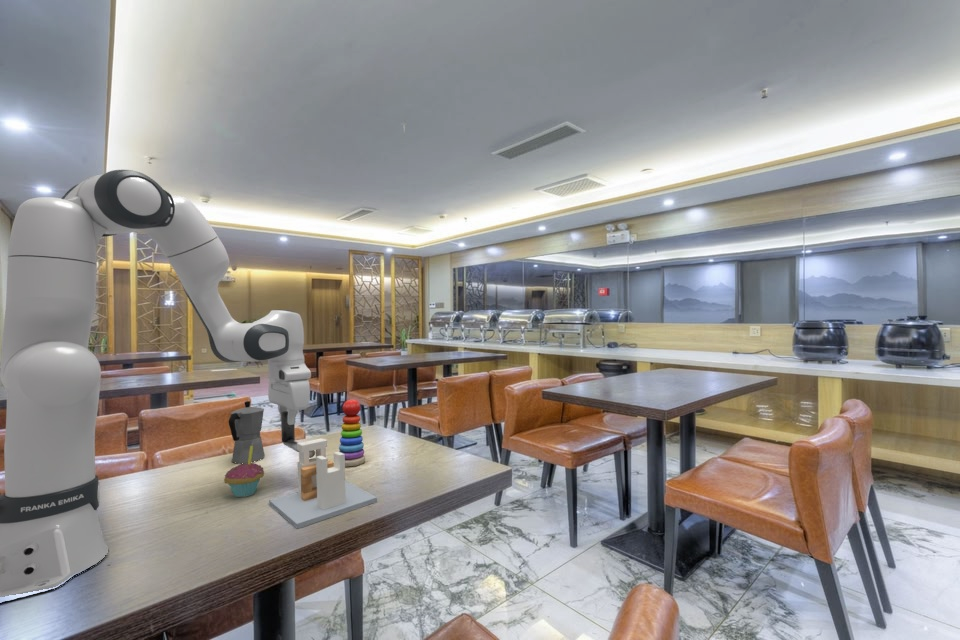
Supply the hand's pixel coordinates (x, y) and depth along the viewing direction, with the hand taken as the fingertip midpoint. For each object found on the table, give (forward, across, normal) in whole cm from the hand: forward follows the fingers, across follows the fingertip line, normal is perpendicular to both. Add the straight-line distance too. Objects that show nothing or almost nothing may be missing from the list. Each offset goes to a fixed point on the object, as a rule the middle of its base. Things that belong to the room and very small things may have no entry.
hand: (287, 422), depth 114 cm
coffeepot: (+15, -28, -3) cm, 32 cm away
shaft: (+6, +7, 0) cm, 9 cm away
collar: (+14, +19, 0) cm, 23 cm away
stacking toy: (+15, -1, +18) cm, 24 cm away
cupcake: (+15, +2, -11) cm, 19 cm away
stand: (+15, +22, 0) cm, 26 cm away
